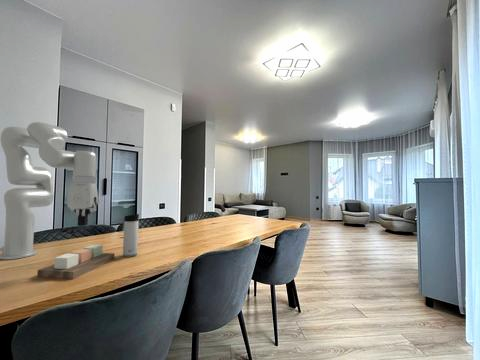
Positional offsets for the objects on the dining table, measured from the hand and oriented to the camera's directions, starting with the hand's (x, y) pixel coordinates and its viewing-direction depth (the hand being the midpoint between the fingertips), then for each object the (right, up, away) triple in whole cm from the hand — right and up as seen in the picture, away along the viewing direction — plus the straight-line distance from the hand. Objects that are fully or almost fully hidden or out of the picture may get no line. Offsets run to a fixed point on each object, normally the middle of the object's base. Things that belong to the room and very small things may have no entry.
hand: (82, 225), depth 88 cm
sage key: (0, -15, +6) cm, 16 cm away
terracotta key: (0, -14, 0) cm, 14 cm away
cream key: (-1, -14, -7) cm, 16 cm away
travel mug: (+12, -18, +15) cm, 26 cm away
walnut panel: (0, -17, -1) cm, 17 cm away
